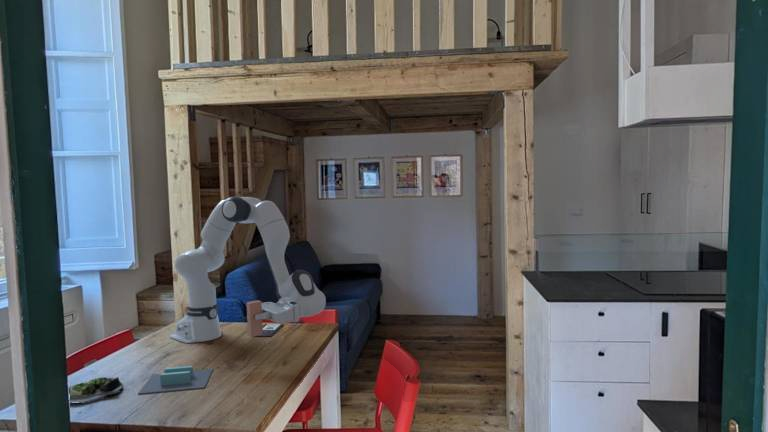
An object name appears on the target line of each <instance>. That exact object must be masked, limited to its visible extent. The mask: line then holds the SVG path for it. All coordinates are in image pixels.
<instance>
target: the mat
mask: <svg viewBox="0 0 768 432" xmlns="http://www.w3.org/2000/svg"><path fill="white" fill-rule="evenodd" d="M213 370H214V369H213V368H210V369H201V370H199V369H198V370H193V371H194V376H193V377H191V382H190V383H184V384H173V385H163V386H161V381H160V375H161V374H162V373H154V374H152V375H150V377H149V378H148V380H147V381H146V382H145V384H144V385H143V386H142V388H140V390H139V392H138V394H137V395H147V394H160V393H170V392H180V391H188V390H189V391H190V390H200V389H205V388H206V386H207V384H208V382H209V380H210V377H211V375H212V372H213Z"/></svg>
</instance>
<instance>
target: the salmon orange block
mask: <svg viewBox="0 0 768 432" xmlns="http://www.w3.org/2000/svg"><path fill="white" fill-rule="evenodd" d="M262 303H263V302H262V301H261V300H251V301H247V302H246V321H247V336H248V337H249V338H255V337H254V336H259V335H263V319H259V320H256V319H254V314H261V313H262Z"/></svg>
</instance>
